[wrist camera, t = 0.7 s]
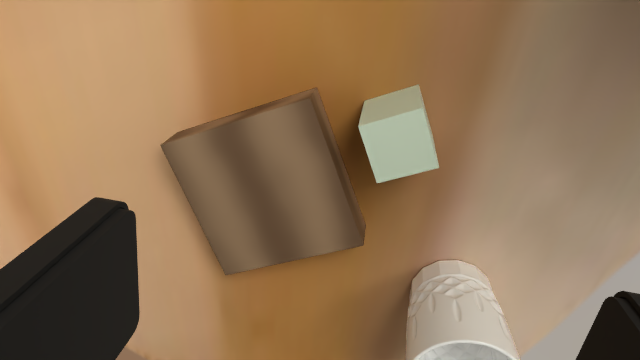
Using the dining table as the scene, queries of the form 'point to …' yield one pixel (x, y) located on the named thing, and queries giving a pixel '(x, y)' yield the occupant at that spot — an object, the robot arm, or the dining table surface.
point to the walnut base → (268, 184)
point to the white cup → (456, 316)
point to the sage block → (397, 135)
